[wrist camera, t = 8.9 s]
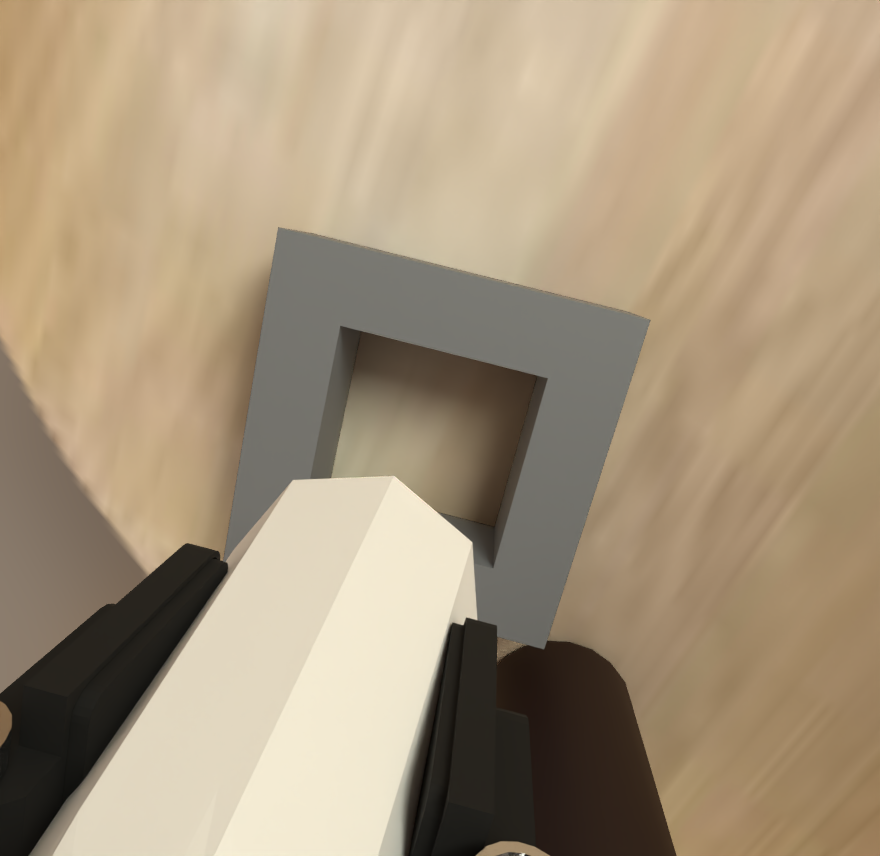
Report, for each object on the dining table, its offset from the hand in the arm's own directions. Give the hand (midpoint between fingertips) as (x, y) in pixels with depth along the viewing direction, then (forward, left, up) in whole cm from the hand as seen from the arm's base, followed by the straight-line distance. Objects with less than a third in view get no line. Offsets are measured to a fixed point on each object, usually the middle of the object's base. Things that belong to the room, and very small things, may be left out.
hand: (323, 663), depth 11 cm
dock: (0, 0, -17) cm, 17 cm away
